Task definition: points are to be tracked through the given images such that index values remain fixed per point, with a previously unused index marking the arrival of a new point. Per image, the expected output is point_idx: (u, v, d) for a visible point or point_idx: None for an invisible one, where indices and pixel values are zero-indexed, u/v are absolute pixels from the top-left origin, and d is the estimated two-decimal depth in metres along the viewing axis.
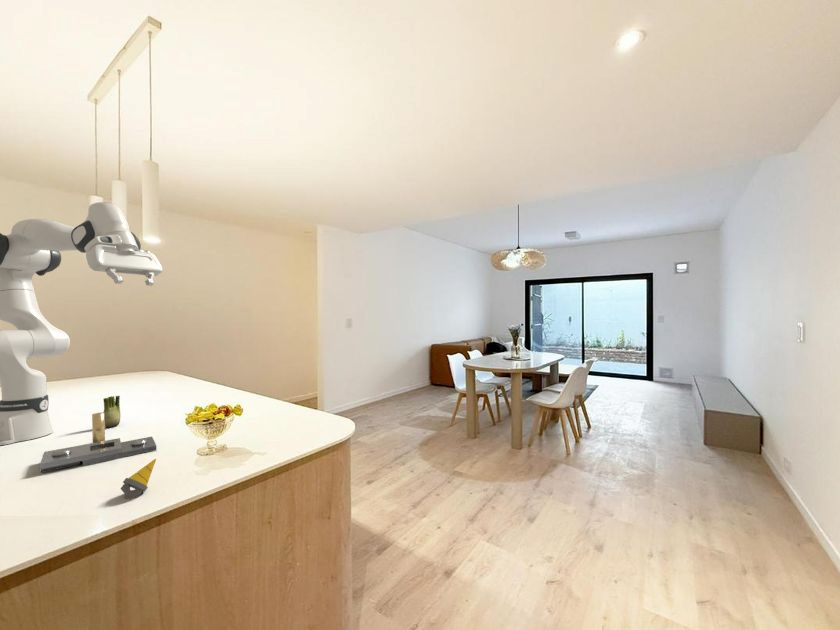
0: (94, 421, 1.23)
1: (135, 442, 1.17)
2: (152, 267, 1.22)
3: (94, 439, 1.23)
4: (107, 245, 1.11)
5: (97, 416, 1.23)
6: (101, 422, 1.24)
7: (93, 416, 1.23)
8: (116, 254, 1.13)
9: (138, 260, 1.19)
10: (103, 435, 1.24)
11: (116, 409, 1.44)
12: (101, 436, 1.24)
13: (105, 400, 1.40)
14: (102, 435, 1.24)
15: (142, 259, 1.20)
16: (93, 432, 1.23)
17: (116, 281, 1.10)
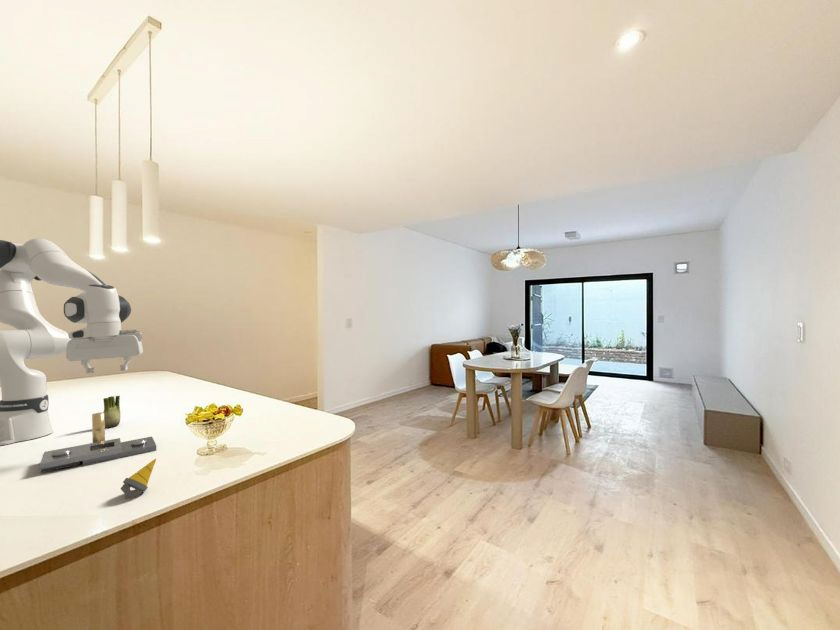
0: (94, 421, 1.23)
1: (135, 442, 1.17)
2: (126, 352, 1.24)
3: (94, 439, 1.23)
4: (79, 339, 1.19)
5: (97, 416, 1.23)
6: (101, 422, 1.24)
7: (93, 416, 1.23)
8: (91, 345, 1.21)
9: (112, 347, 1.23)
10: (103, 435, 1.24)
11: (116, 409, 1.44)
12: (101, 436, 1.24)
13: (105, 400, 1.40)
14: (102, 435, 1.24)
15: (118, 345, 1.24)
16: (93, 432, 1.23)
17: None
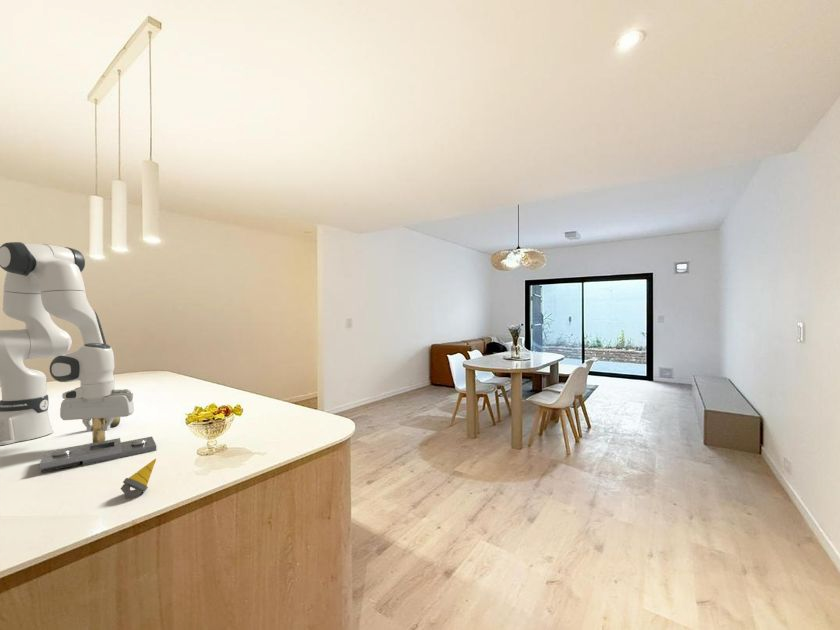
0: (94, 421, 1.23)
1: (135, 442, 1.17)
2: (116, 413, 1.24)
3: (94, 439, 1.23)
4: (72, 399, 1.20)
5: None
6: (101, 422, 1.24)
7: None
8: (83, 404, 1.22)
9: (103, 408, 1.23)
10: (103, 435, 1.24)
11: None
12: (101, 436, 1.24)
13: None
14: (102, 435, 1.24)
15: (109, 405, 1.24)
16: (93, 432, 1.23)
17: None
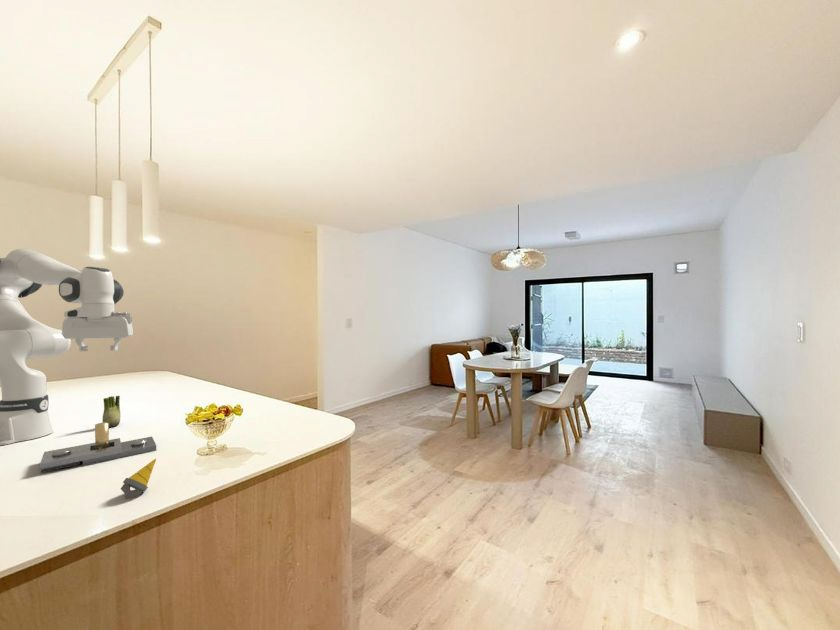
0: (97, 432, 1.11)
1: (135, 442, 1.17)
2: (116, 333, 1.29)
3: None
4: (73, 318, 1.26)
5: (100, 427, 1.11)
6: (105, 433, 1.12)
7: (96, 427, 1.11)
8: (84, 324, 1.27)
9: (103, 328, 1.28)
10: (107, 447, 1.13)
11: (116, 409, 1.43)
12: None
13: (105, 400, 1.40)
14: (106, 447, 1.12)
15: (109, 326, 1.29)
16: (96, 444, 1.11)
17: None
